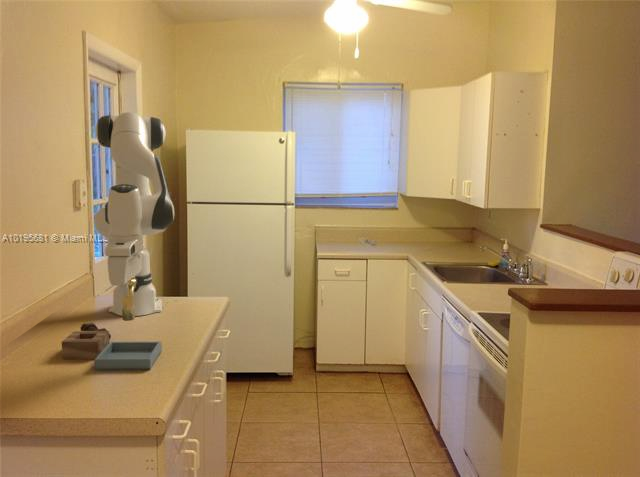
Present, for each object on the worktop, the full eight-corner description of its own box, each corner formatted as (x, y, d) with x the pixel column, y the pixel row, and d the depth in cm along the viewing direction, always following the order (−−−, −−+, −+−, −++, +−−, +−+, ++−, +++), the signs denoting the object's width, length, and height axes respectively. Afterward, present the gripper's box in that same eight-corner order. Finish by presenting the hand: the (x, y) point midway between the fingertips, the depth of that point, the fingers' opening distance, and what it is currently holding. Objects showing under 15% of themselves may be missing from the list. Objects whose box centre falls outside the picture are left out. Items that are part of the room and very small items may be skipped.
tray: (111, 351, 168) (110, 341, 168) (161, 351, 169) (161, 341, 169) (94, 370, 154) (94, 359, 153) (150, 369, 155) (150, 359, 154)
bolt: (88, 338, 185) (105, 349, 174) (73, 333, 182) (89, 344, 171) (96, 321, 187) (113, 331, 175) (82, 316, 184) (98, 326, 172)
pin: (122, 316, 162) (120, 277, 160) (139, 316, 162) (138, 277, 161) (117, 321, 157) (115, 281, 155) (135, 321, 157) (133, 281, 156)
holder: (75, 347, 171) (74, 331, 171) (109, 346, 172) (108, 330, 171) (62, 358, 162) (61, 341, 161) (98, 358, 162) (98, 341, 162)
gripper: (124, 239, 167) (126, 285, 169) (102, 250, 146) (104, 303, 148) (146, 239, 167) (148, 285, 169) (128, 250, 147) (129, 303, 149)
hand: (127, 294), depth 159 cm, fingers closed on pin, 3 cm apart
